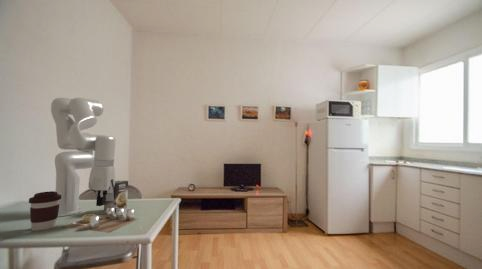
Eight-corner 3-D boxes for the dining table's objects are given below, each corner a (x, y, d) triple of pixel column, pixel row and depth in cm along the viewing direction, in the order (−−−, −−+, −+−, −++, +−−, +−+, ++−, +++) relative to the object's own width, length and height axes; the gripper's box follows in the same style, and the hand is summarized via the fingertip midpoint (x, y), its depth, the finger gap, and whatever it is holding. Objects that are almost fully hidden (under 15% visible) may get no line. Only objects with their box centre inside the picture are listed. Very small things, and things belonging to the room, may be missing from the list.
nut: (79, 222, 91) (79, 217, 91) (90, 218, 96) (90, 213, 96) (87, 223, 90) (87, 217, 90) (97, 219, 95) (98, 214, 95)
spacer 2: (104, 218, 96) (104, 208, 97) (110, 216, 99) (110, 206, 100) (110, 219, 96) (110, 209, 96) (116, 217, 99) (116, 207, 99)
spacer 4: (124, 220, 94) (124, 210, 94) (129, 218, 97) (130, 208, 97) (130, 221, 93) (130, 211, 93) (135, 218, 96) (136, 208, 96)
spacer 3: (114, 219, 95) (114, 209, 95) (120, 217, 98) (120, 207, 98) (120, 220, 94) (120, 210, 95) (125, 217, 97) (126, 208, 98)
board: (62, 229, 87) (62, 226, 87) (97, 217, 102) (97, 214, 102) (109, 235, 81) (109, 231, 81) (139, 221, 96) (139, 218, 96)
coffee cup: (65, 226, 90) (67, 191, 91) (39, 235, 80) (41, 196, 81) (48, 224, 92) (50, 189, 93) (20, 233, 83) (22, 194, 84)
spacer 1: (87, 229, 84) (87, 217, 84) (94, 226, 87) (95, 215, 88) (93, 229, 83) (94, 218, 84) (100, 226, 86) (101, 215, 87)
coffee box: (114, 216, 103) (115, 183, 104) (103, 215, 104) (104, 182, 105) (127, 211, 112) (128, 180, 113) (117, 210, 113) (118, 180, 114)
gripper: (82, 163, 92) (79, 205, 91) (110, 165, 88) (107, 210, 87) (98, 161, 99) (95, 200, 98) (124, 164, 95) (121, 204, 94)
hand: (100, 205), depth 93 cm, fingers closed
